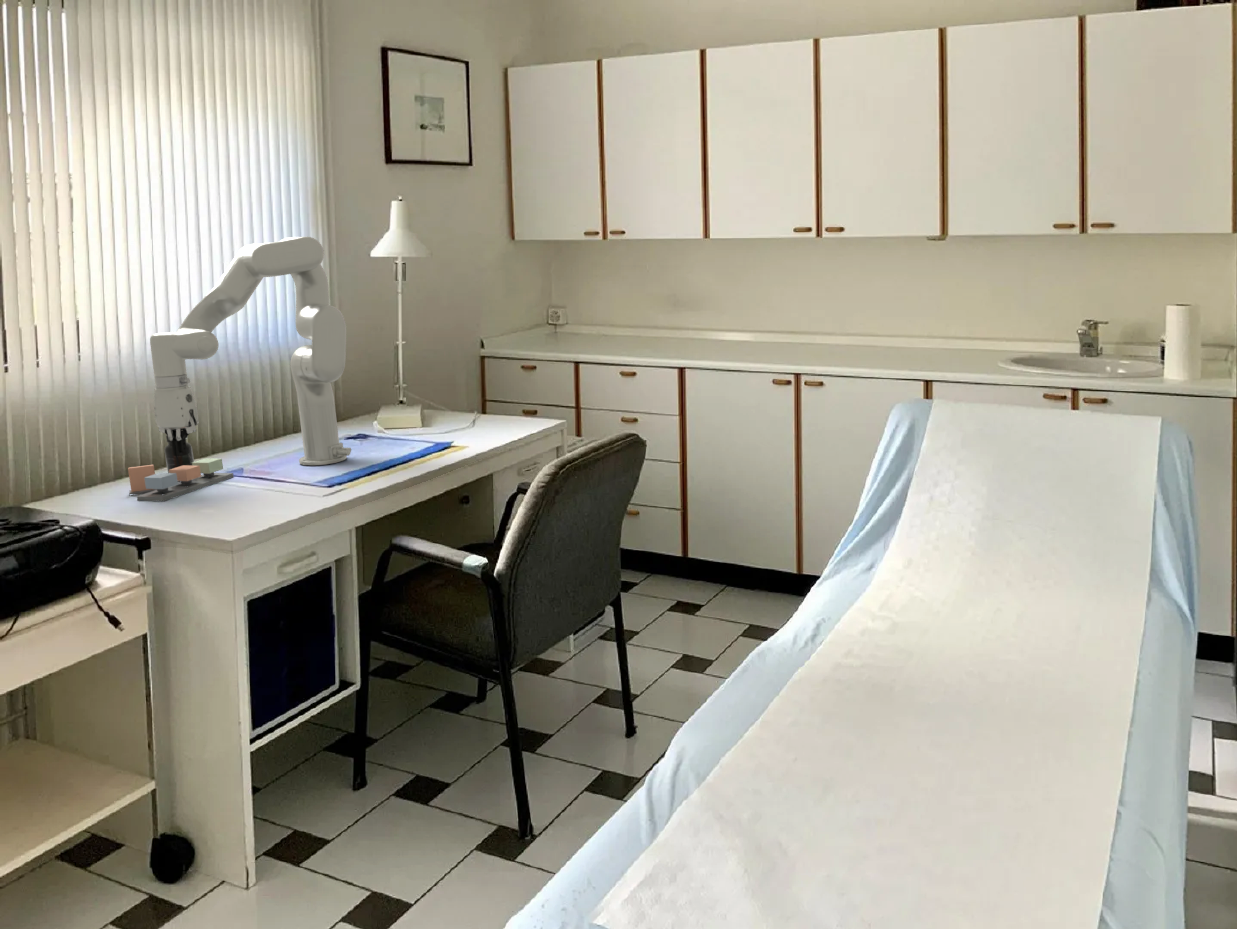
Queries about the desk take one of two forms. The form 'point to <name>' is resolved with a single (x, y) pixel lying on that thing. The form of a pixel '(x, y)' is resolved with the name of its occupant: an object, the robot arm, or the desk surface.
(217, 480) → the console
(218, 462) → the button sage
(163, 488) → the button slate
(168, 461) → the supplement bottle
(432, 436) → the desk surface
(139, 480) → the upright salmon panel
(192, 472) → the button terracotta
